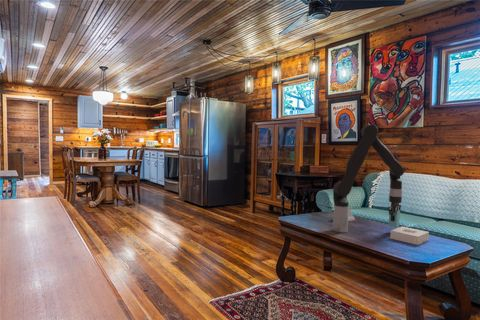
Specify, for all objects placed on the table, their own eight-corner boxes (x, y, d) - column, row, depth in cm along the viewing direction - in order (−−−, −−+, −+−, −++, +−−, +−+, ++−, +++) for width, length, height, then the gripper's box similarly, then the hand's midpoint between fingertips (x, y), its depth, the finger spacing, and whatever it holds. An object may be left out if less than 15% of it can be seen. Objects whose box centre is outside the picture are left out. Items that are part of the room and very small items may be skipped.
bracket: (396, 227, 205) (397, 211, 205) (388, 225, 209) (389, 209, 209) (399, 226, 208) (399, 210, 207) (391, 224, 212) (392, 208, 211)
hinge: (341, 222, 234) (338, 209, 236) (336, 223, 238) (333, 210, 240) (355, 219, 243) (352, 207, 245) (350, 220, 247) (347, 208, 249)
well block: (417, 244, 183) (418, 236, 182) (390, 238, 195) (390, 230, 195) (428, 239, 193) (428, 231, 193) (401, 233, 205) (402, 226, 205)
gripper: (394, 193, 215) (393, 218, 216) (384, 195, 206) (383, 221, 207) (405, 195, 209) (404, 220, 210) (396, 197, 200) (394, 223, 201)
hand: (394, 220), depth 208 cm, fingers closed on bracket, 4 cm apart
